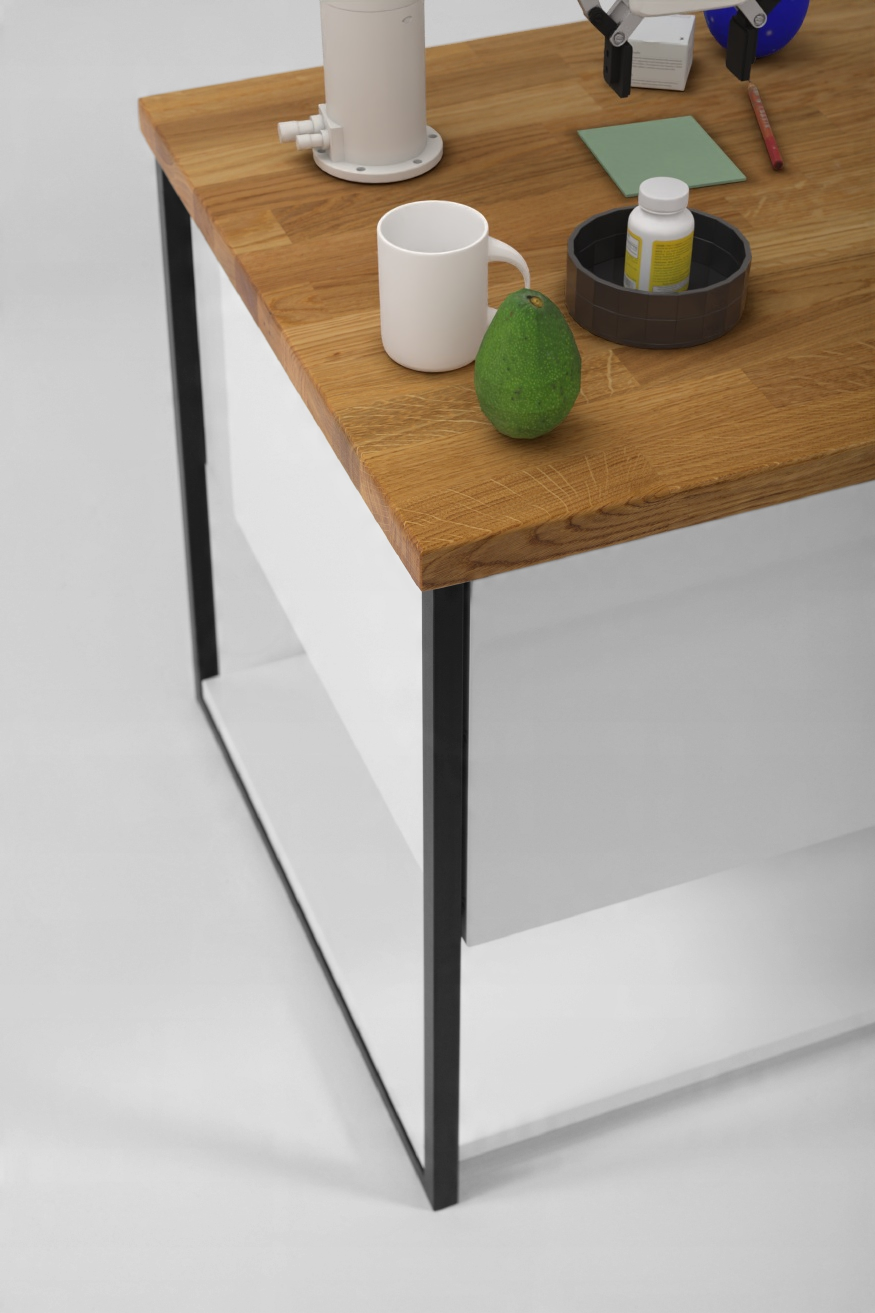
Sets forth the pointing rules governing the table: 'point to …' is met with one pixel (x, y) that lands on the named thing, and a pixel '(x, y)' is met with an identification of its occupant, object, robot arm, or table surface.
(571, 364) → the avocado
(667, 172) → the cloth
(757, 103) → the pencil
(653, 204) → the supplement bottle
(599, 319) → the pan
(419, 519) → the table surface
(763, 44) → the ornament
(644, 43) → the small box
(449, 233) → the mug
